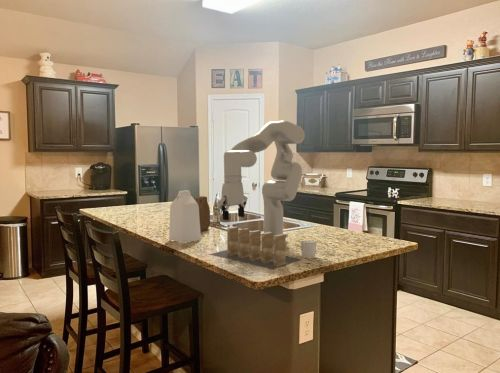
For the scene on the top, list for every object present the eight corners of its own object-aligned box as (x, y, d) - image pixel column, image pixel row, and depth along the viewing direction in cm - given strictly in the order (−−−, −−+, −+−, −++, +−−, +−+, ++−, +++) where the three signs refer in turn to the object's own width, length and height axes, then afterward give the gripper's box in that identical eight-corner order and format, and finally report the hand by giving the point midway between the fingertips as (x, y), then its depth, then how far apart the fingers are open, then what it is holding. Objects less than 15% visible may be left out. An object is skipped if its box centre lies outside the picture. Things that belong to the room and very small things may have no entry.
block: (198, 232, 238) (198, 197, 236) (189, 230, 242) (189, 196, 241) (211, 229, 246) (211, 196, 244) (203, 228, 251) (202, 195, 249)
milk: (182, 243, 207) (182, 192, 205) (169, 240, 214) (168, 191, 212) (201, 240, 216) (200, 190, 214) (187, 237, 223) (186, 189, 221)
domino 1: (238, 257, 176) (238, 229, 175) (246, 255, 180) (246, 228, 179) (241, 258, 175) (241, 230, 174) (249, 256, 179) (249, 228, 178)
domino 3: (261, 262, 168) (261, 233, 167) (269, 260, 171) (269, 231, 170) (265, 263, 166) (265, 234, 165) (272, 261, 170) (272, 232, 169)
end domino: (227, 255, 181) (227, 228, 180) (235, 253, 184) (235, 226, 183) (230, 255, 179) (230, 228, 178) (238, 253, 183) (238, 227, 182)
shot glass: (301, 255, 182) (301, 239, 182) (317, 256, 180) (317, 240, 180) (299, 259, 176) (299, 243, 175) (315, 260, 174) (315, 244, 173)
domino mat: (240, 248, 197) (240, 246, 197) (302, 260, 173) (302, 259, 173) (209, 255, 182) (209, 254, 182) (272, 270, 158) (272, 269, 158)
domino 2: (249, 260, 172) (249, 231, 171) (257, 257, 176) (257, 230, 175) (253, 260, 171) (252, 232, 170) (260, 258, 174) (260, 230, 173)
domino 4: (273, 265, 163) (273, 235, 162) (281, 263, 167) (281, 233, 166) (277, 266, 162) (277, 236, 161) (285, 263, 166) (285, 234, 165)
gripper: (240, 177, 188) (240, 214, 190) (212, 180, 175) (213, 220, 177) (252, 178, 183) (253, 216, 185) (224, 181, 170) (225, 222, 172)
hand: (233, 218), depth 181 cm, fingers open, 9 cm apart
